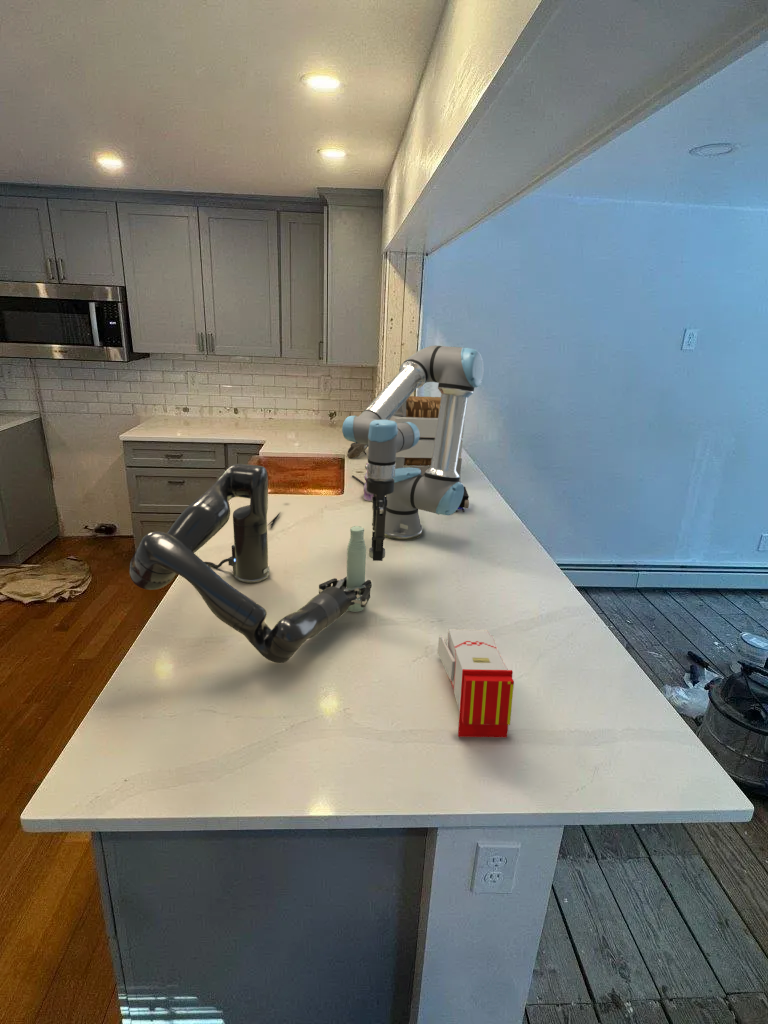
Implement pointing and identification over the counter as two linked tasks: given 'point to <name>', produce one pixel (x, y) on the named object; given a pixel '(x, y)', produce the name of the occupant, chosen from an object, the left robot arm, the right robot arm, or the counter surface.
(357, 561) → the bottle
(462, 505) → the figurine character
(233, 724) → the counter surface
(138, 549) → the left robot arm
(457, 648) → the toy
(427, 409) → the grey slatted crate
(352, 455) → the fossil
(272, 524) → the feather
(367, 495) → the figurine
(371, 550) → the cap
